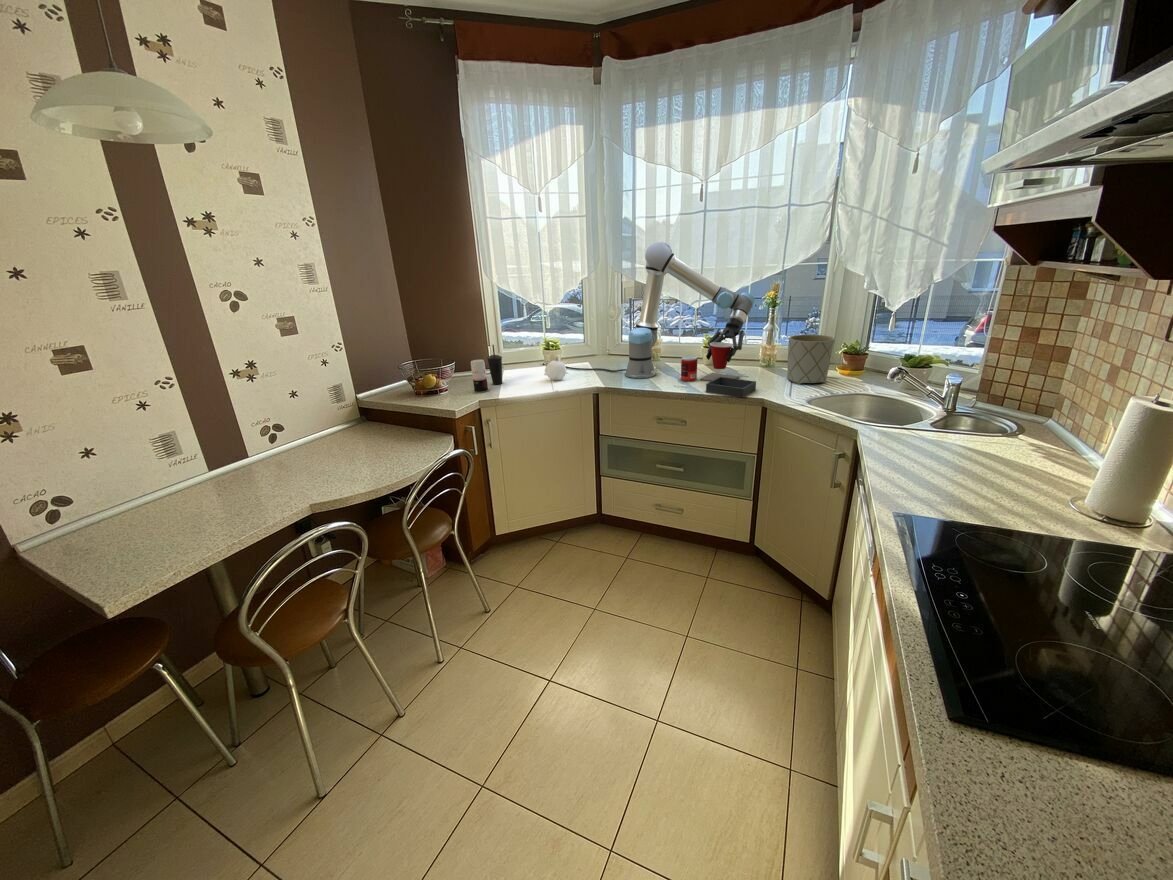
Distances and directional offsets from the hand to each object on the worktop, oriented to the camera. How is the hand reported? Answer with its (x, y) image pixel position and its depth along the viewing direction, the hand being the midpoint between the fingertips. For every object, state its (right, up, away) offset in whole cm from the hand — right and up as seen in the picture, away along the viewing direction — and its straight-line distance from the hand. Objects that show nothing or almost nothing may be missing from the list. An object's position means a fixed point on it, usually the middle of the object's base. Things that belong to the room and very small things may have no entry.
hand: (717, 359), depth 229 cm
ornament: (-79, -8, +18) cm, 81 cm away
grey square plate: (+3, -9, +6) cm, 11 cm away
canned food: (-12, -9, +7) cm, 17 cm away
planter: (+40, -11, -5) cm, 42 cm away
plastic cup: (+2, -4, +4) cm, 6 cm away
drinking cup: (-109, -10, +17) cm, 111 cm away
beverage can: (-115, -15, +5) cm, 116 cm away
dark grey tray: (+2, -17, -16) cm, 23 cm away
